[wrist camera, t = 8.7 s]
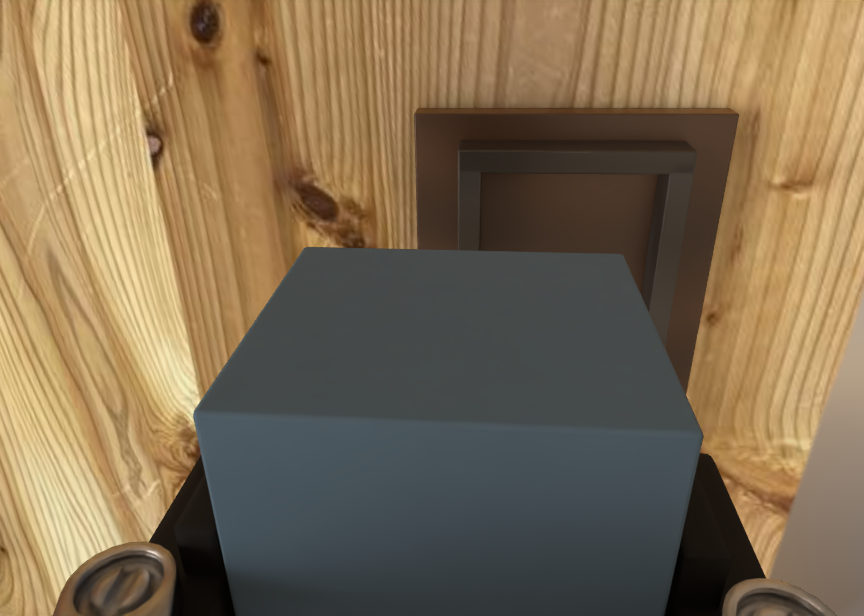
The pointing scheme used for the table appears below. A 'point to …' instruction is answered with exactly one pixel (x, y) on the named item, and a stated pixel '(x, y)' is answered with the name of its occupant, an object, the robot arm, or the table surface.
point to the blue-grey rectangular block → (450, 440)
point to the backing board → (584, 194)
